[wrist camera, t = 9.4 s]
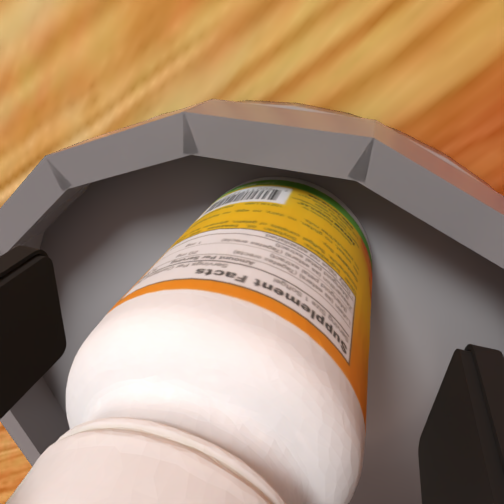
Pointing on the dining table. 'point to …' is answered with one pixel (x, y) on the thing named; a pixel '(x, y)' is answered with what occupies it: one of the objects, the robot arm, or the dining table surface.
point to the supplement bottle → (226, 365)
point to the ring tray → (274, 165)
